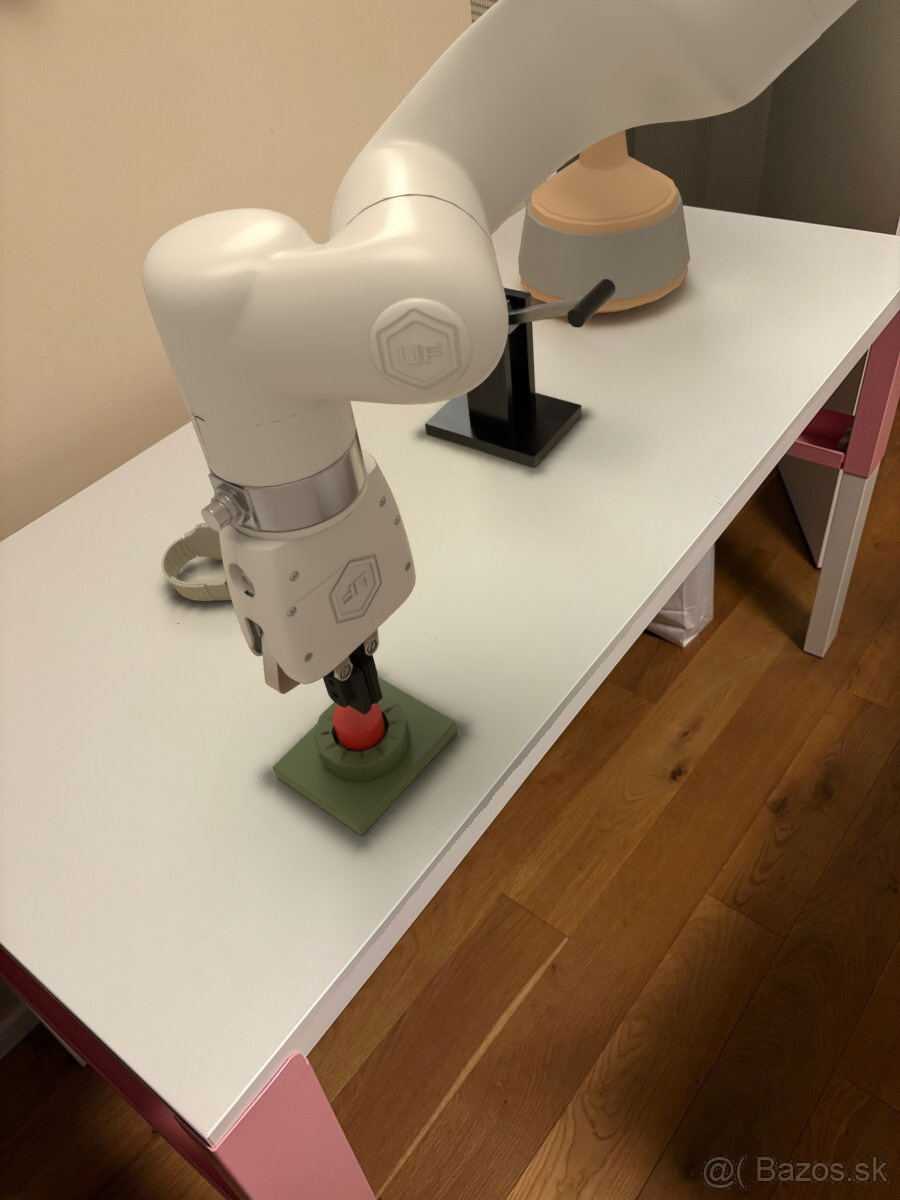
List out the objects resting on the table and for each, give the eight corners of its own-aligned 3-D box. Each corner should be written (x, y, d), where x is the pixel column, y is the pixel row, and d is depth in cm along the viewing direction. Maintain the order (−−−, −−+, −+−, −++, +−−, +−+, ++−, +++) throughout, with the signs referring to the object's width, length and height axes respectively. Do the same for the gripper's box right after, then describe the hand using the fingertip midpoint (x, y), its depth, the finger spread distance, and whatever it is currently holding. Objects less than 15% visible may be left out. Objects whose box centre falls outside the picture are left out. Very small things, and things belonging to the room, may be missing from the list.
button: (359, 705, 65) (355, 688, 64) (394, 726, 63) (390, 710, 62) (327, 736, 63) (322, 720, 62) (362, 758, 62) (358, 743, 60)
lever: (619, 299, 78) (610, 272, 77) (588, 331, 75) (578, 303, 74) (504, 320, 86) (495, 295, 85) (472, 349, 83) (461, 324, 82)
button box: (372, 682, 70) (366, 655, 68) (457, 731, 66) (453, 705, 64) (275, 776, 65) (265, 751, 63) (361, 836, 61) (353, 811, 59)
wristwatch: (282, 548, 81) (268, 503, 78) (276, 600, 77) (261, 555, 73) (177, 560, 82) (159, 515, 78) (165, 612, 77) (145, 568, 74)
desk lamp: (479, 280, 112) (447, -101, 86) (606, 228, 118) (612, -142, 92) (596, 353, 98) (599, -74, 72) (733, 290, 104) (782, -124, 78)
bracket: (581, 415, 91) (581, 290, 81) (534, 467, 86) (528, 341, 77) (476, 386, 96) (464, 266, 87) (426, 434, 91) (408, 312, 82)
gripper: (230, 586, 42) (318, 809, 55) (439, 415, 50) (473, 647, 63) (128, 528, 46) (232, 750, 59) (337, 378, 53) (389, 604, 66)
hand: (356, 697), depth 61 cm, fingers closed
